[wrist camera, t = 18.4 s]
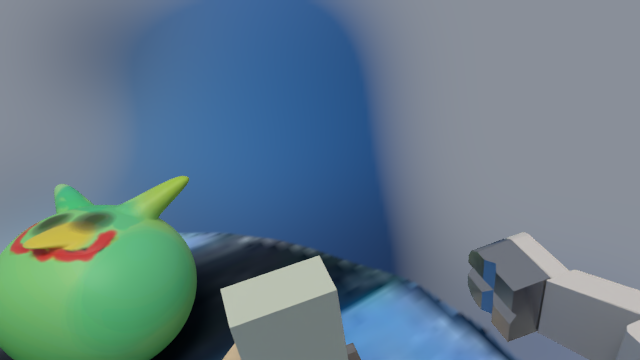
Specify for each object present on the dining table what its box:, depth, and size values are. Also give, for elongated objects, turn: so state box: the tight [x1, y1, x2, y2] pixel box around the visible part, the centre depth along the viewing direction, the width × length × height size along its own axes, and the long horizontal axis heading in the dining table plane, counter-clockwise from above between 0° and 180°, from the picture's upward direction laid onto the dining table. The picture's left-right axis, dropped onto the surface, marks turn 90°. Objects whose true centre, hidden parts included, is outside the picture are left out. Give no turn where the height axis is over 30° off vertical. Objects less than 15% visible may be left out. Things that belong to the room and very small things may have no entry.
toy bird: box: [0, 176, 197, 360], centre depth 45 cm, size 18×17×15 cm
